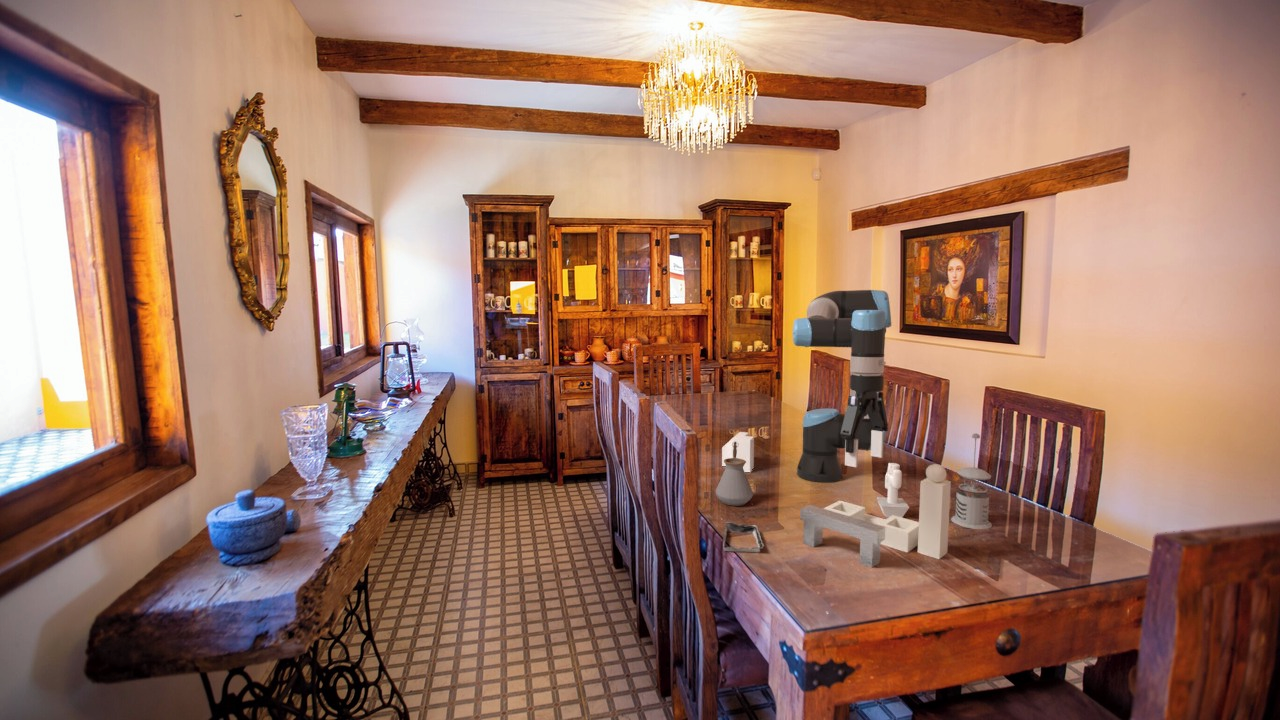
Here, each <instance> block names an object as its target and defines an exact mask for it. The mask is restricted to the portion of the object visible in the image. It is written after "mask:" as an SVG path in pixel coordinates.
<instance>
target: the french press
mask: <svg viewBox="0 0 1280 720" xmlns="http://www.w3.org/2000/svg"><path fill="white" fill-rule="evenodd" d="M980 437H981V435H980V434H979V433H972V436H971V438H973V439H974V454H973V455H974V456H973V467H963V468H960V469H958V470H957V471H956V474H957V475H958V476H961V477H963V478H964V483H961V484H958V486H957V487H958V489H957V490H956V498H955V499H956V500H955V515H953V516H952V517H951V519H950V520H951V521H952V522H953V524H955V525H958V526H961V527H963V528H967V529H971V530H972V529H973V530H989V529H991V528H992V526H993V525H992V523H991V522H990V521H989V509H990V494H988V492H989V489H988V488H987V487H984V486H982V485H979V484H975V480H976V481H988V480H990V479H991V478H992V475H991V474H990V473H988V472H987V471H986V470H984V469H981V468H979V467H976V450H977V439H981V438H980ZM967 480H971V481H970V483H966V481H967ZM969 494H970V495H971V497H969Z"/></svg>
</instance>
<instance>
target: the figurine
mask: <svg viewBox="0 0 1280 720" xmlns="http://www.w3.org/2000/svg"><path fill="white" fill-rule="evenodd" d="M885 473H886V474H885V477H884V488H885V489H886V490H887V497H882V496H881V497H878V496H877V497H875V498H876V501H877V503H878V505H879V507H880V509H881V512H882V514H883V515H884V516H885V518H889V517H890V516H892V515H894V516H898V517H902V518H904V516H905V514H906V513H907V512H908V510H909V509H910V506H909V505H908V504H907V502H906V501H905V500H904V499H903V498H902V497H901V498H900V497H899V493H898V492H899V489H901V488H902V487H901V486H902V484H903V483H902V481H903V471H902V470H901V469H900V464H899V463H896V462H888V464H887V470H886V472H885Z"/></svg>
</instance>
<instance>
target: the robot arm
mask: <svg viewBox="0 0 1280 720" xmlns="http://www.w3.org/2000/svg"><path fill="white" fill-rule="evenodd" d="M891 327H892V315H891V305H890V298H889V294H888V292H887V291H885V290H879V289H859V290H858V289H857V290H855V289H854V290H834V291H830V292H826V293H823V294H821V295H818V296H816V297H815V298H813V299H812V300H811V301H810V303H809V305H808V306H807V309H806V317H802V318H801V317H800V318H796V319H794V321H793V325H792V341H793V345H795V346H796V347H804V348H810V347H811V348H812V347H813V348H850V349H851V351H850V365H849V367H850V368H849V371H850V376H849V377H850V378H849V389H850V395H848V398H847V406H846V408H845V411H844V412H845V413H840V412H839V410H838V408H818V409H817V408H816V409H813V410H808V411H806V412H805V413H804V415H803V419H802V421H803V422H802V452H801V455H800V459H799V461H798V464H797V468H796V475H797V476H798V477H799V478H801V479H803V480H807V481H811V482H818V483H832V482H833V483H834V482H837V481H840V480H842V479H843V469H842V465H841V461H840V459H839V456H838V451H839V450H838V449H844V450H845V451H844V466H848V467H853V468H857V467H858V455H859V450H860V451H866V452H868V451H870V457H875V458H879V459H882V458H883V457H884V456H883V455H884V454H883V453H884V444H885V439H886V433H887V432H888V430H889V423H888V418H887V413H886V408H885V403H884V402H885V401H884V392H882V391H883V390H884V381H885V379H884V378H885V377H884V376H883V374H884V372H885V365H886V363H887V362H886V361H885V346H886V345H885V344H886V333H887V328H888V329H889V328H891Z"/></svg>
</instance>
